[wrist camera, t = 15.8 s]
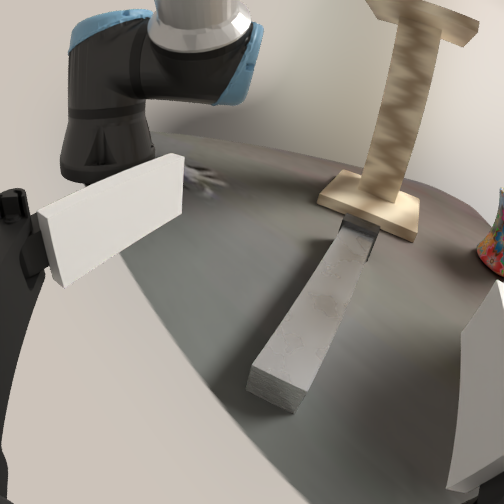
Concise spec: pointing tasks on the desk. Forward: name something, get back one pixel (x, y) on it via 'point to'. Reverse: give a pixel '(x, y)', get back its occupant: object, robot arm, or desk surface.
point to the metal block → (312, 319)
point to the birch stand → (398, 116)
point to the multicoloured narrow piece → (494, 242)
